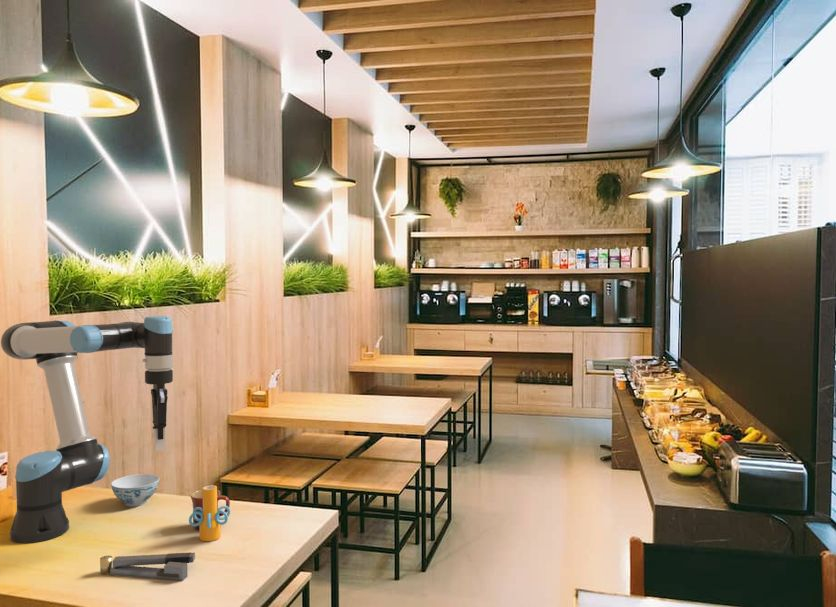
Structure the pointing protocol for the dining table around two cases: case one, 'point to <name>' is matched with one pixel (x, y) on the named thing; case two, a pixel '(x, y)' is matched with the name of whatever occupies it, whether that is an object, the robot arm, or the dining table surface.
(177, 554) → the tongs arm
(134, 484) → the chinaware
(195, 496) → the mug
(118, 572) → the tongs fixed
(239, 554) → the dining table surface
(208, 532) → the cylinder
